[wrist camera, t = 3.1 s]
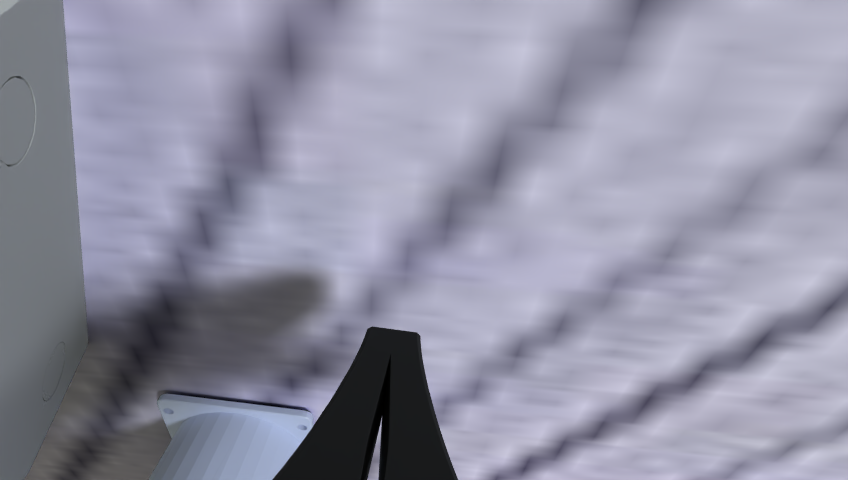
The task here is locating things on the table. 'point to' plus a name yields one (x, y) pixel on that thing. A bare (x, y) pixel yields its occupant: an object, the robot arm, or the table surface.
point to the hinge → (36, 231)
